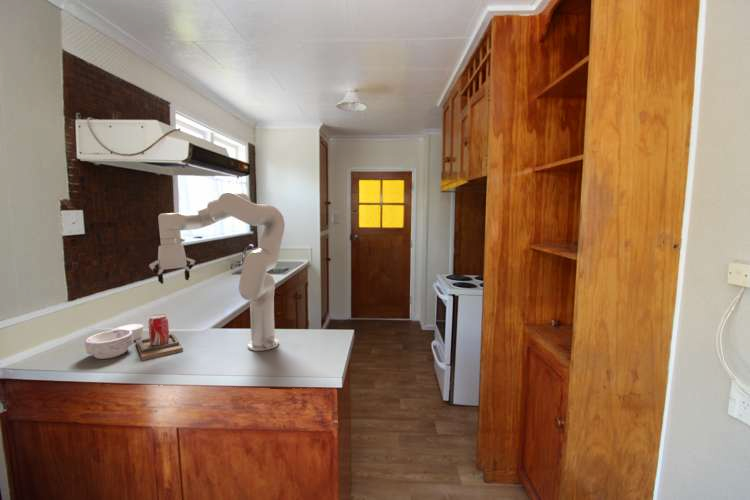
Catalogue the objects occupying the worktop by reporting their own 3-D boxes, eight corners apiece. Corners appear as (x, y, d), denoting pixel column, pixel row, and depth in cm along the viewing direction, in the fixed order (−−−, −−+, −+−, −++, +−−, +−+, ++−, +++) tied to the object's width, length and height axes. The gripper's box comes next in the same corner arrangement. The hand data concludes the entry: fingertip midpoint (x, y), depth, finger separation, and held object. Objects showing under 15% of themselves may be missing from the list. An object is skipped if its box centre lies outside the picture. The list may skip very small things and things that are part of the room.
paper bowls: (76, 361, 133) (74, 341, 132) (111, 346, 148) (109, 328, 147) (111, 363, 131) (109, 343, 130) (143, 347, 146) (141, 329, 145)
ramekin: (109, 345, 150) (107, 333, 149) (119, 336, 160) (118, 325, 160) (138, 342, 153) (138, 330, 152) (147, 333, 163) (146, 322, 163)
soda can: (148, 343, 147) (146, 316, 145) (167, 339, 152) (165, 312, 150) (152, 348, 142) (150, 319, 140) (171, 343, 147) (169, 316, 145)
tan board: (182, 351, 143) (182, 347, 142) (142, 360, 134) (141, 356, 134) (173, 336, 159) (173, 333, 159) (136, 343, 151) (136, 340, 151)
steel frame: (179, 344, 146) (179, 342, 145) (142, 352, 137) (141, 349, 137) (173, 336, 156) (173, 333, 155) (138, 343, 147) (138, 340, 147)
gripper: (190, 240, 157) (194, 277, 159) (145, 243, 146) (149, 283, 148) (195, 241, 151) (198, 279, 153) (148, 244, 140) (152, 285, 142)
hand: (174, 281), depth 150 cm, fingers open, 9 cm apart
